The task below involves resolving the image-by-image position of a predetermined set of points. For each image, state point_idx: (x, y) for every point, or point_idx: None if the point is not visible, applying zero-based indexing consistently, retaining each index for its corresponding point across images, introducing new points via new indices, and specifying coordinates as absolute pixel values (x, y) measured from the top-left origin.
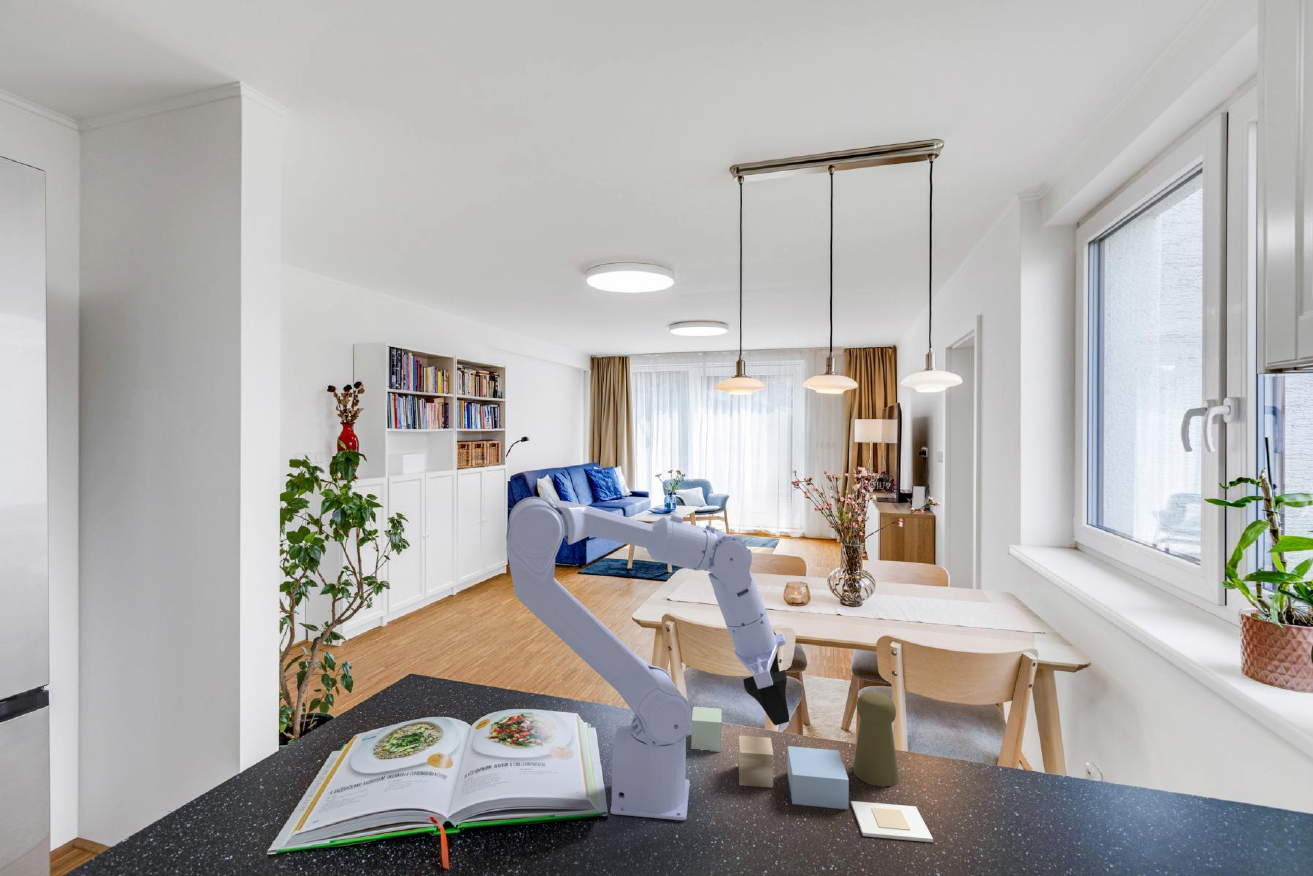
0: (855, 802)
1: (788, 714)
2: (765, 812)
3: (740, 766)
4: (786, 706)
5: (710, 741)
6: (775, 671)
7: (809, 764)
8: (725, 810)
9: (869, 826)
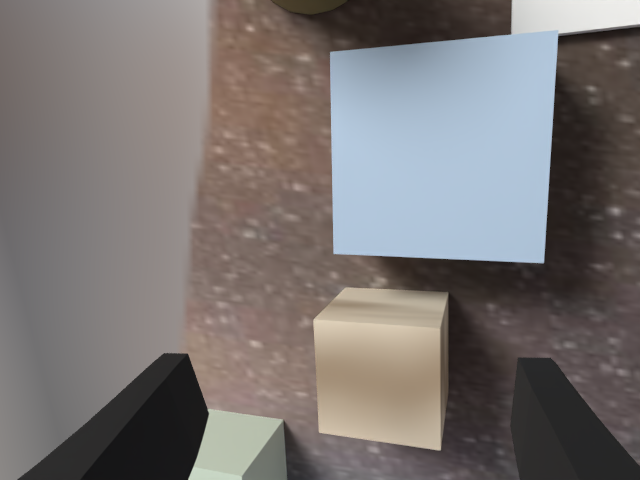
0: (519, 24)
1: (575, 390)
2: (591, 333)
3: (444, 419)
4: (625, 453)
5: (273, 467)
6: (123, 460)
7: (455, 185)
8: None
9: None
